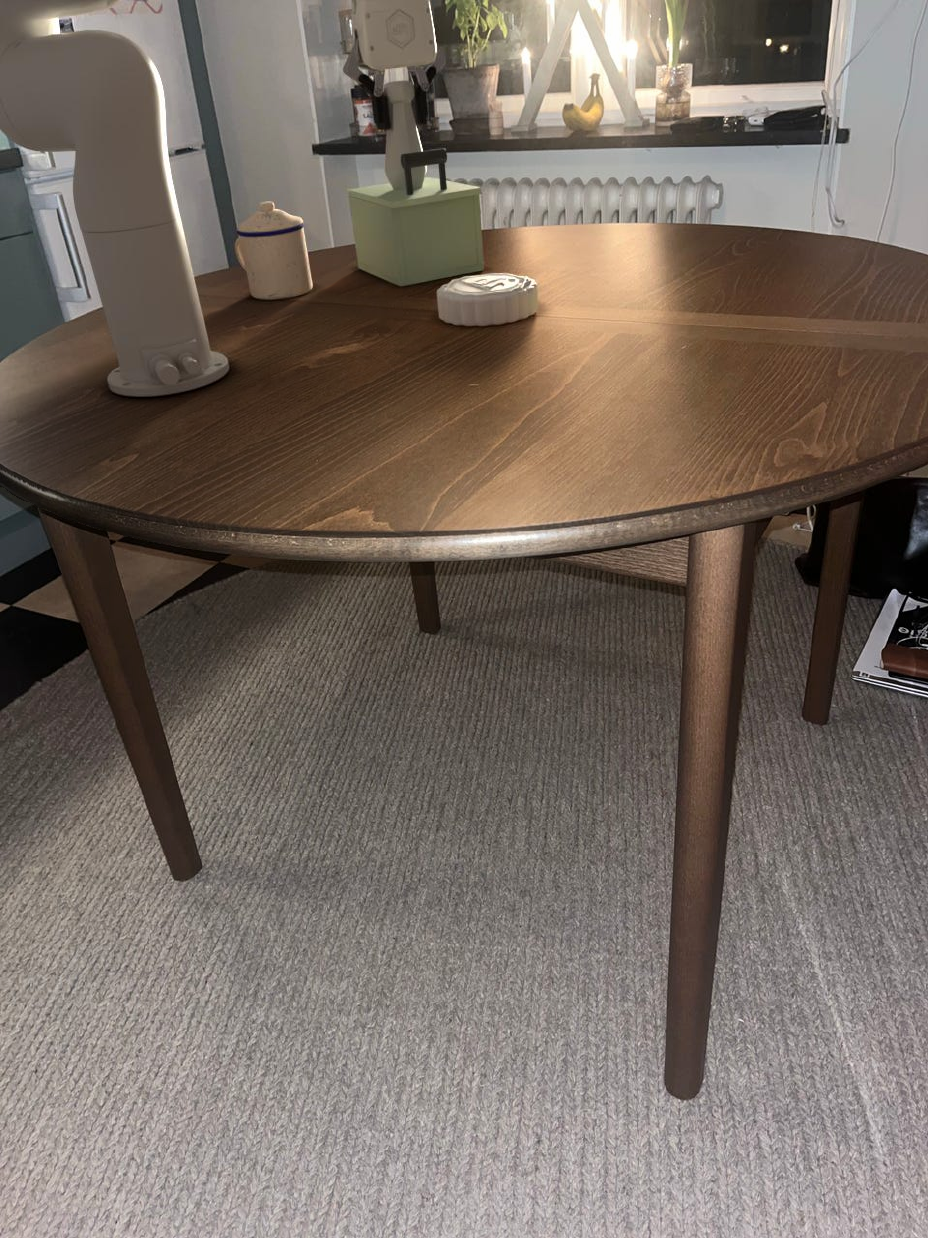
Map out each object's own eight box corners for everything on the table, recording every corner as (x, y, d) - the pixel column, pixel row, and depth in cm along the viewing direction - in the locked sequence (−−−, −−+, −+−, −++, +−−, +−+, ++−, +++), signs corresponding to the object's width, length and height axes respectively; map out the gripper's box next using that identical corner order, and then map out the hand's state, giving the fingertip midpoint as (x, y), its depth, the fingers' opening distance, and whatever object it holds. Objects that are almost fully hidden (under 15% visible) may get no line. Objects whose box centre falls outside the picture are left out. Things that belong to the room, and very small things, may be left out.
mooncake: (557, 312, 110) (557, 280, 108) (469, 333, 106) (467, 300, 104) (504, 294, 119) (502, 265, 118) (421, 313, 115) (417, 283, 113)
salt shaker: (381, 191, 130) (368, 84, 123) (395, 184, 135) (384, 80, 128) (420, 190, 128) (410, 80, 121) (434, 183, 133) (424, 77, 126)
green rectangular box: (484, 269, 132) (479, 193, 127) (400, 286, 128) (391, 207, 123) (436, 253, 145) (429, 182, 140) (358, 268, 140) (348, 195, 135)
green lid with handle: (482, 193, 127) (478, 145, 123) (393, 208, 122) (388, 159, 119) (429, 182, 140) (426, 138, 136) (348, 195, 135) (342, 150, 132)
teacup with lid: (328, 286, 132) (314, 196, 125) (283, 302, 126) (266, 209, 119) (267, 281, 138) (251, 195, 132) (221, 296, 132) (202, 207, 126)
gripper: (331, -35, 112) (353, 136, 122) (458, -44, 118) (470, 120, 127) (311, -30, 118) (334, 133, 127) (433, -38, 124) (446, 118, 133)
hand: (401, 125), depth 127 cm, fingers open, 4 cm apart
